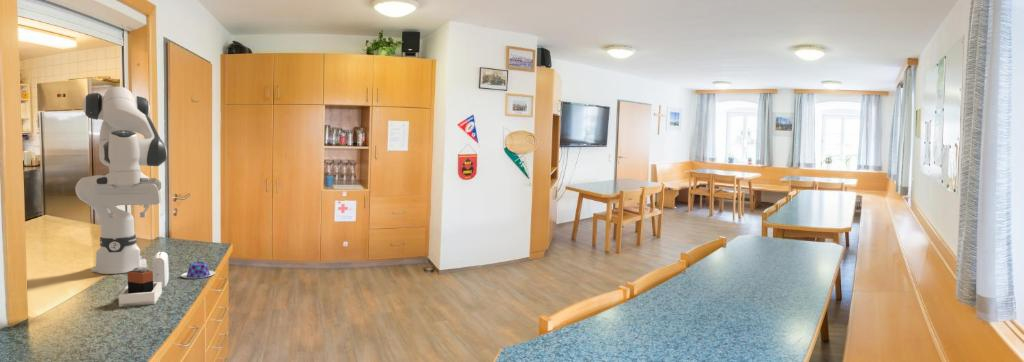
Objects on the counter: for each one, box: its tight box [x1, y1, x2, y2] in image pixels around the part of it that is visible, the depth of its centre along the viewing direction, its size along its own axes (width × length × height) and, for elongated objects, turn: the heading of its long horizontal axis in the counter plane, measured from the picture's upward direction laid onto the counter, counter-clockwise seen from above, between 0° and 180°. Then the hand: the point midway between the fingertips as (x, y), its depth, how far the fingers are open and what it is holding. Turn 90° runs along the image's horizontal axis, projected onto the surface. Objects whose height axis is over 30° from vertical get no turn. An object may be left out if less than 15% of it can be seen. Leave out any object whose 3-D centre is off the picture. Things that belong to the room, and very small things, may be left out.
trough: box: [118, 282, 163, 308], centre depth 187 cm, size 13×10×4 cm
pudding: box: [180, 261, 216, 279], centre depth 219 cm, size 12×12×5 cm
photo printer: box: [152, 251, 170, 289], centre depth 205 cm, size 10×4×12 cm, turn 25°
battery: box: [126, 268, 153, 294], centre depth 187 cm, size 4×7×10 cm, turn 73°
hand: (126, 217), depth 189 cm, fingers open, 8 cm apart
